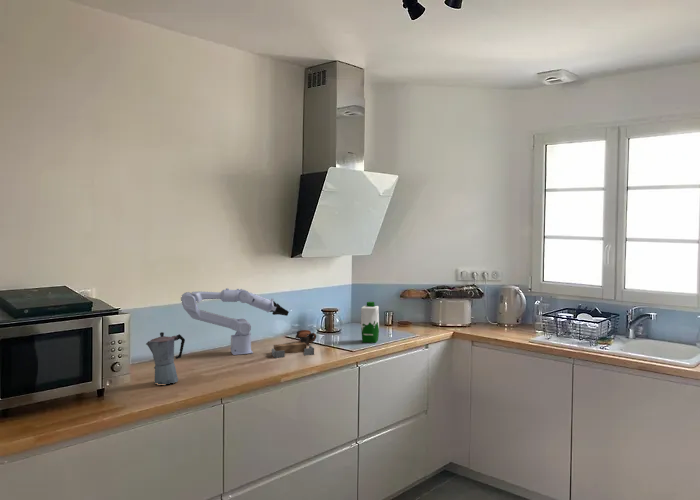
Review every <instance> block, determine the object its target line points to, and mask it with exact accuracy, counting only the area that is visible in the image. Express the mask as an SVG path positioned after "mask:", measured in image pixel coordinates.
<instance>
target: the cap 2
mask: <svg viewBox="0 0 700 500" xmlns="http://www.w3.org/2000/svg"><path fill="white" fill-rule="evenodd" d="M303 353H304V354H303V355H304V356H310V355H311V356H312V355H315V348H314V347H313V346H312V344H311V345H310V344H309V346H308V347H306V349H304V352H303Z"/></svg>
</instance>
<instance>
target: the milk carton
mask: <svg viewBox="0 0 700 500" xmlns="http://www.w3.org/2000/svg"><path fill="white" fill-rule="evenodd" d="M360 308H361V309H360V311H361V313H360V314H361V315H360V317H361V319H360V320H361V321H360V324H361V325H360V327H361V328H360V329H361V342H362V344H363V343H364V344H366V343H367V344H368V343H369V344H376V343H377V342H378V341H379V335H380V314H379V313H380V311H379V308H380V307H379V305H376V304H375V302H374V301H367V302H366V305H363V306H362V307H360Z"/></svg>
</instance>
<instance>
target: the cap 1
mask: <svg viewBox="0 0 700 500" xmlns="http://www.w3.org/2000/svg"><path fill="white" fill-rule="evenodd" d="M271 356H272V357H273V358H274V359H280V358H285V357H286V354H285V351H284V350H283V351H275V350H274V348H271Z"/></svg>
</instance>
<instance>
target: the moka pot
mask: <svg viewBox="0 0 700 500" xmlns="http://www.w3.org/2000/svg"><path fill="white" fill-rule="evenodd" d="M164 334H165V332H159V337H156V338H151V339H150V340H148V341H147V342H146V343H145V345H146V346H147V347H148V349H149V350H150V352H151V354H152V357H153V361H154V367H153V368H154V369H153V370H154V381H155V382H154V384H155V383H158V384H170V383H173V384H175V382H176V383H177V382H178V381H179V377H178V374H177V369H176V365H175V360H176V359H177V360H178V359H179V358H182V355H183V350H184V347H185V346H184V345H185V342H186V340H185V338H184V337H183V336H182V335H181V334H176V335H173V336H166V335H165V336H164ZM178 340H181V342H180V349H179V353H178V355H177V356H175V341H178ZM170 385H171V384H170Z"/></svg>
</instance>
